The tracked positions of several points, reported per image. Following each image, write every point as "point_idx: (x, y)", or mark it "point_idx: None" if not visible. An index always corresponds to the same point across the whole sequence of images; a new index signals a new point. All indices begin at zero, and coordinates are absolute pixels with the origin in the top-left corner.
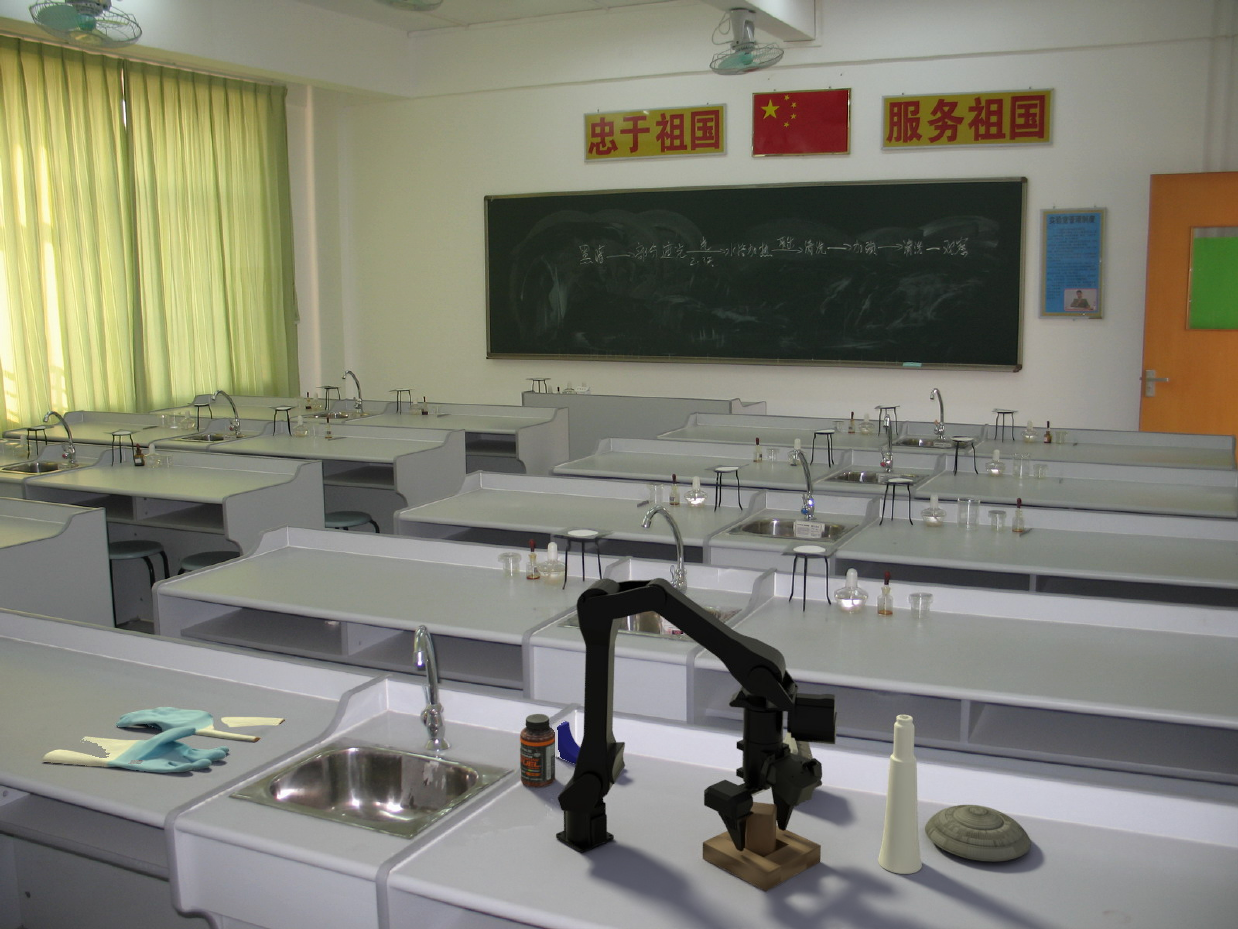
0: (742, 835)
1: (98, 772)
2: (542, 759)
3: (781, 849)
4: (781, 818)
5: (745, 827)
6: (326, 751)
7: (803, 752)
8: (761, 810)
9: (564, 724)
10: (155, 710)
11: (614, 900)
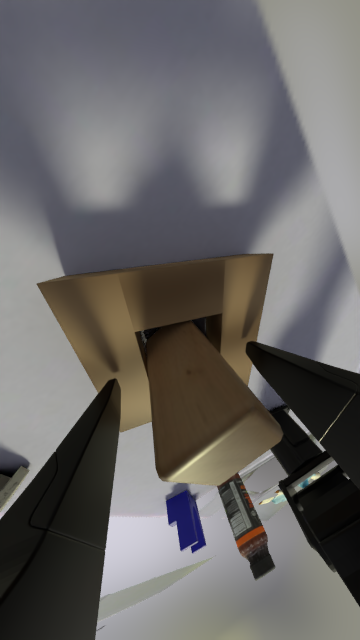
0: (299, 359)
1: None
2: (247, 507)
3: (167, 321)
4: (112, 413)
5: (322, 375)
6: (269, 488)
7: None
8: (249, 445)
9: (197, 549)
10: (282, 501)
11: (337, 336)
